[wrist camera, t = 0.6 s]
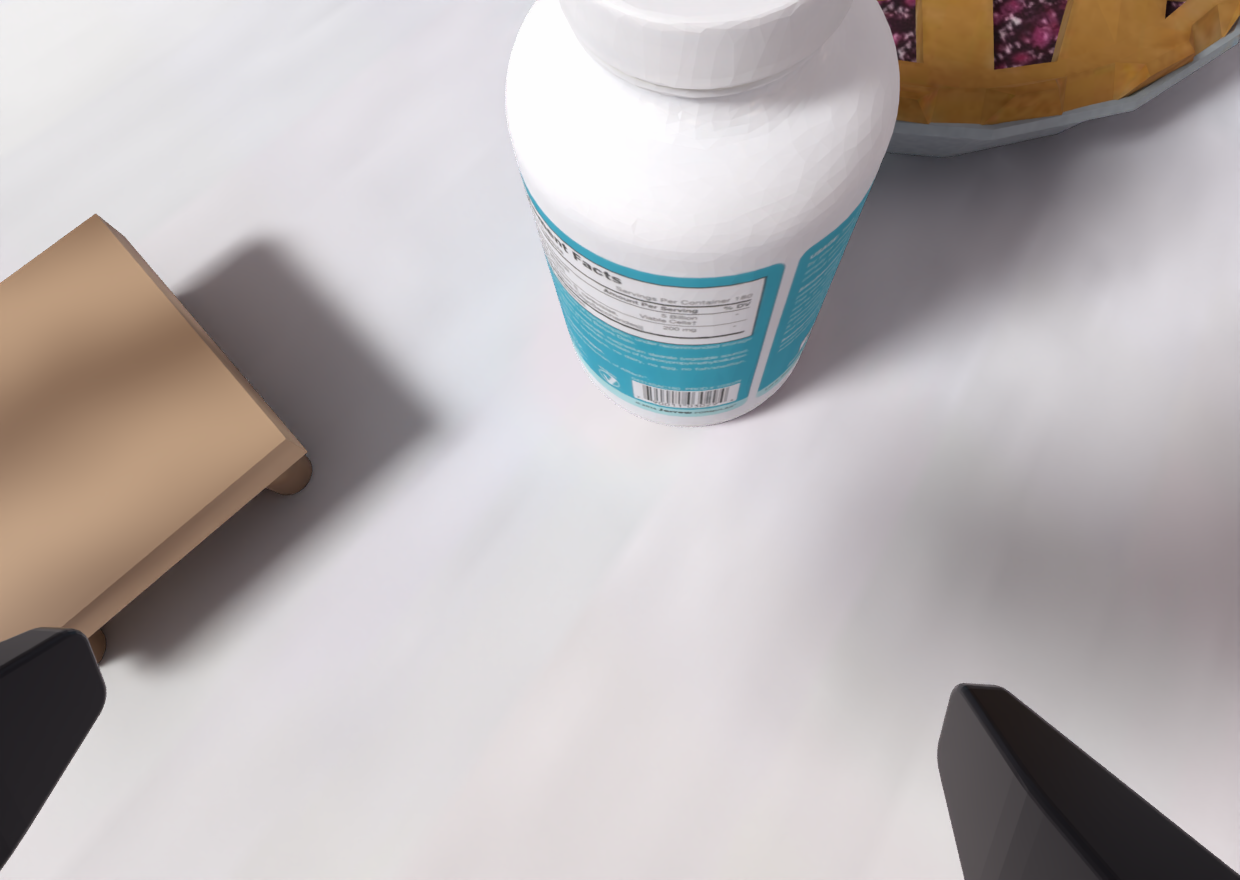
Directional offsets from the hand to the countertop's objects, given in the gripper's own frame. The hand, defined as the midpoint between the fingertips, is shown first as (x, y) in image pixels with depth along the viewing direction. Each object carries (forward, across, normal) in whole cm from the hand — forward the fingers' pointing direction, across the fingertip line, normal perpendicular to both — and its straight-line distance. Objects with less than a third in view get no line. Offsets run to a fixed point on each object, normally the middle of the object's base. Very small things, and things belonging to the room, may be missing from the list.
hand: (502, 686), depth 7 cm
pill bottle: (+17, -2, +1) cm, 17 cm away
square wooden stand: (+13, +16, +5) cm, 21 cm away
